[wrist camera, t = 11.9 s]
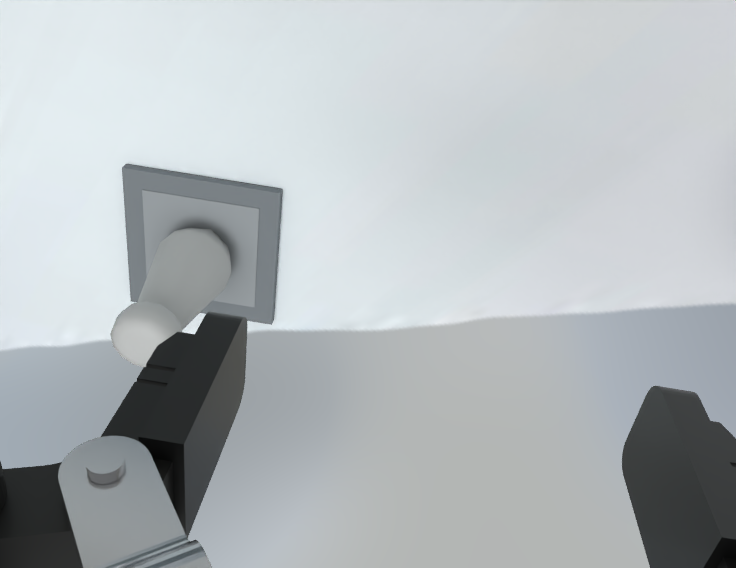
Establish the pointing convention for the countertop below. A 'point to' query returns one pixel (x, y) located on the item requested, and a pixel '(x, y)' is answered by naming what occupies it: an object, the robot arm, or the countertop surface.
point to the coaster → (207, 211)
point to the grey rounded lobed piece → (172, 292)
